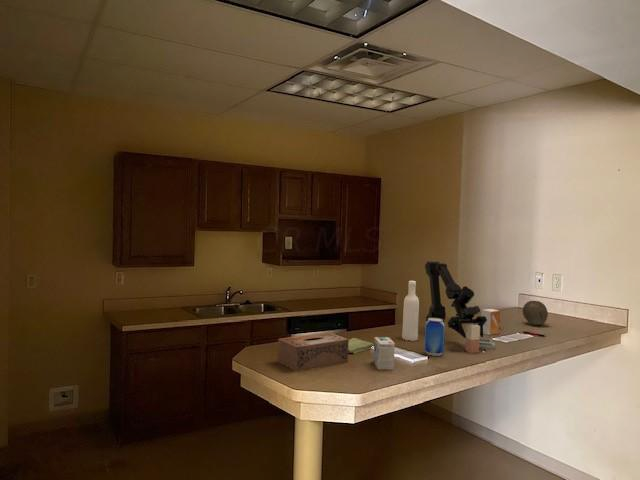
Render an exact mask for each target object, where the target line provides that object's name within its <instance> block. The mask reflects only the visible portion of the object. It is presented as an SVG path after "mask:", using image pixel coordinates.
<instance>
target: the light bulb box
mask: <svg viewBox="0 0 640 480" xmlns="http://www.w3.org/2000/svg"><path fill="white" fill-rule="evenodd" d="M373 345H374V346H373V359H372V360H373V361H372V362H373V363H374V365H375V367H376V368H377V370H385V369H386V370H394V369H395V367H394V366H395V348H396V347H395V346H396V344H395V342H394V341H393V340H392V339H391V337H388V336H385V337H383V336H380V337H379V336H375V337H374V340H373ZM386 370H385V371H386Z"/></svg>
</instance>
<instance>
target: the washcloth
mask: <svg viewBox="0 0 640 480" xmlns="http://www.w3.org/2000/svg"><path fill="white" fill-rule="evenodd" d="M372 346H373V347H374V342H373V343H372V342H368V341H366V340H361V339H359V338H356V337H353V338H351V339H349V343H348V354H352V355H356V354H360V353H362V352H366V351H368V350H370V348H371V347H372ZM373 347H372V348H373ZM372 348H371V349H372Z"/></svg>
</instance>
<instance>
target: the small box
mask: <svg viewBox="0 0 640 480" xmlns="http://www.w3.org/2000/svg"><path fill="white" fill-rule="evenodd" d="M480 313H481V315H480V316H485V317H486V319H487V321H486V323H485V324H484V325H483V335H484V334H485V335H487V336H491V335H498V334H500V333H499V332H500V323H499V318H500V315H501V311H500V310H498V309H492V308H488V309H487V308H486V309H481V312H480ZM500 319H501V318H500Z"/></svg>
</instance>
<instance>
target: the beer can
mask: <svg viewBox="0 0 640 480" xmlns="http://www.w3.org/2000/svg"><path fill="white" fill-rule="evenodd" d="M445 328H446V326H445V322H444V323H443V320H442V319H439V318H428V321H427V322H425V332H424V333H425V335H424V336H425V337H424V352H425V353H426V355H428V356H431V355H432V357H439V356H442V355H443V353H444V347H445Z"/></svg>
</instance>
